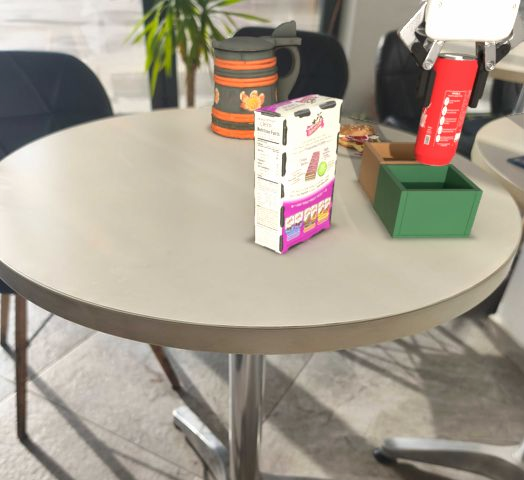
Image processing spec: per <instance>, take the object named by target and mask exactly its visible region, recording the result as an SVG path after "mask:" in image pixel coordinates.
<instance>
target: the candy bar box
mask: <svg viewBox="0 0 524 480" xmlns="http://www.w3.org/2000/svg"><path fill="white" fill-rule="evenodd" d="M343 103H344V100H343V99H341V98H337V97H331V96H327V95H321V94H319V93H317V94H312V93H311V94H308V95H304V96H300V97H296V98H293V99H289V100H288V101H285V102H281V103H277V104H274V105H270V106H266V107H263V108H259V109H255V110H254V139H253V149H254V150H253V166H254V167H253V171H254V172H253V173H254V179H253V180H254V181H253V182H254V184H253V186H254V187H253V190H254V191H253V192H254V193H253V196H254V203H253V205H254V208H253V209H254V212H253V214H254V244H255V245H257V246H259V247H261V248H265V249H267V250H270V251H272V252H274V253H277V254H279V255H283V254H285V253H288V252H289V251H290V250H293V249H294V248H296V247H298V246H299V245H301V244H303V243H305V242H306V241H308V240H310V239H312V238H314V237H316V236H317V235H319V234H321V233H322V232H324V231H326V230H328V229H330V228H331V223H332V214H333V213H332V211H333V203H334V193H335V181H336V171H337V163H338V153H339V151H338V150H339V132H340V127H341V122H342V121H341V120H342V111H343Z"/></svg>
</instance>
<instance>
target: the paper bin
mask: <svg viewBox="0 0 524 480" xmlns="http://www.w3.org/2000/svg"><path fill="white" fill-rule="evenodd" d="M415 143H416V141H381V142H364V148H363V151H362V152H363V155H362V156H361V157H362V158H361V162H360V168H359V169H360V170H359V175H358V176H359V177H358V183H359V185H360V186H361V189H362V190H363V191H364V193H365V194H366V196H367V197H368V199H369V200H370V203H371V204H372V205H373V204H374V198H375V192H376V186H377V180H378V174H379V168H380V164H422V163H419V162H417V161H416V160H415V158H416V156H415V152H414V148H415Z"/></svg>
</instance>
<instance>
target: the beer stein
mask: <svg viewBox="0 0 524 480" xmlns="http://www.w3.org/2000/svg"><path fill="white" fill-rule="evenodd" d="M302 40H303V39H302V37H299V36H297V22H296V20H294V19H291V20H290V21H284V22H282V23H280V24H278V25H277V26H276V28H275V29H274V30H273V32H272V33H271V35H261V36H257V37H256V36H231V37H227V38H224V39H222V40H211V47H212V48H213V56H214V62H213V64H214V65H213V78H212V79H213V81H214V88H213V89H214V90H213V105H212V106H211V125H210V129H211V131H212V132H213V133H214V134H216V135H219V136H221V137H224V138H227V139H235V140H236V139H237V140H254V110H255V109H259V108H263V107H266V106H270V105H274V104H277V103H281V102H285V101H288V100H290V99H289V95H290V94H291V92H292V90H293V88H294V86H295V85H296V82H297V80H298V77H299V75H300V71H301V54H300V50H299V47H298V46H301V45H302ZM282 49H286V50H287V51H288V52H289V53H290V55H291V58H292V60H291V61H292V62H291V63H292V64H291V66H290V68H289V69H290V70H289V71H288V73H286V74H285V75H284V76H279V74H278V69H279V68H278V66H277V65H278V64H277V57H278V56H276V53H277V51H278V50H282Z"/></svg>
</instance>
